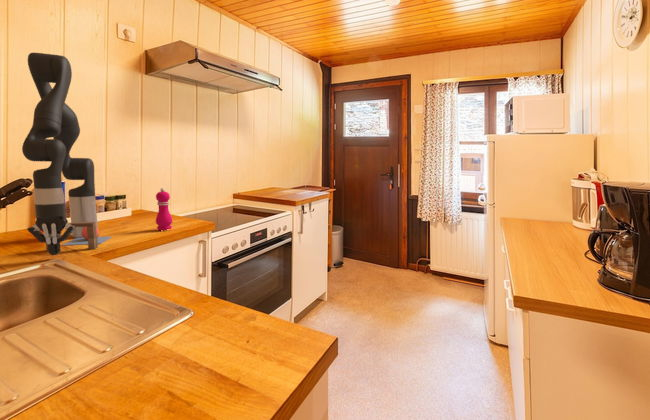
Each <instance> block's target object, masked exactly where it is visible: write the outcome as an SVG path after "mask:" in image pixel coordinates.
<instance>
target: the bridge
mask: <svg viewBox="0 0 650 420" xmlns="http://www.w3.org/2000/svg"><path fill="white" fill-rule="evenodd" d="M68 223H69V224H71V225H72V226H73V225H75V226H76V227H87V237H88V244H87V246H88V250H91V251H92V250H96V249H97V248H99V244H98V242H97V229H96V222H74V223H71V222H68ZM64 228H66V226H65V227H64ZM45 247H46V248H45V249H46V250H45V251H46V252H48V244H47V243H45Z"/></svg>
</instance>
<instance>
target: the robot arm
mask: <svg viewBox="0 0 650 420" xmlns="http://www.w3.org/2000/svg"><path fill="white" fill-rule="evenodd" d="M27 66H28V69H29V73H30V74H31V75H30V76H31V77H32V80H33V82H34V83H33V84H34V85H35V87H36V89H37V92H38V95H39V97H40V100H39V102H38V103H37V104H36V106H35V108H34V112H33V121H32V125H31V128H30V130H29V132H28V134H27V136H26V137H25V139H24V141H23V143H22V147H21V150H22V154H23V156H24V157H25V158H26V160H28V161H31V162H50V165H49V166H48V167H46V168H40V169H36V170H33V172H32V173H33V174H32V179H33V181H32V182H33V188H34V189H33V202H34V210H35V211H34V212H35V217H36V220H35V221H34V222H35V223H34V225H32V226H30V227H28V228H27V231H28V232H29V233H30V234H31V235H32V236H33V237H34V238H35V239H36V240H37V241H39V242H40V243H44V244H46V243H47V244H48V251H47V252H48V254H50V256H57V255H59V254H60V253H61V243H62V242H64V241H66V240H68V238H69V237H70V236H71V237H72V238H74V239H75V238H83V236H82V230H83V229H84V228H85V227H76V226H75V225H73V226H72V225H71V224H69V223H74V222H96V227H97V228H98V229H99V226H98V215H97V201H96V200H97V199H96V186H95V185H96V184H95V163H94V161H93V160H92V158H89V157H71V156H70V155H71V154H70V152H71V150H72V147H73V146H74V145H75V143H76V142H77V140H78V138H79V136H80V133H81V128H80V123H79V121H78V120H79V119H78V116H77V114H76V112H75V111H74V110H73V109H72V108H71V107H70V106H69V105H68V104H67V103H66V101H67V100H66V99H67V97H68V96H67V95H68V94H69V89H70V86H71V83H72V75H73V72H72V65H71V63H70V61H69V59H68V58H67V57H66V56H65V55H59V54H51V53H42V52H30V53H29V54H28V55H27ZM51 84H54V86H53V88H52V85H51ZM49 138H50V139H49ZM62 175H63V177H64V178H65V180H69V181H84V182H83V184H81V185H79V186H77V187H73V188H71V189H69V190H68V204H69V214H70V215H69V216H70V222H68V221H69V220H68V219H67V216H66V215H67V214H66V203H65V194H64V190H63V182H62V181H63V180H62ZM65 226H66V227H65ZM63 230H65V231H64V232H63V234H62V231H63Z"/></svg>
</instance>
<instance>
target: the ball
mask: <svg viewBox="0 0 650 420" xmlns="http://www.w3.org/2000/svg"><path fill="white" fill-rule="evenodd" d="M96 229H97V237H100V236H99V235H100V230H99V227H98V228H97V227H96ZM82 236H83V238H84V239H86V240H88V237H87V227H85V228H84V229H83V230H82Z"/></svg>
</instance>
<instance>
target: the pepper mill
mask: <svg viewBox="0 0 650 420" xmlns="http://www.w3.org/2000/svg"><path fill="white" fill-rule="evenodd" d="M165 190H166V189H165V188H164V187H162V188H160V191H158V192H157V193H156V195H155V199H156V200H157V205H158V212H157V214H156V218H155V223H156V225H157V227H156V229H158V230H167V229H171V228H173V227H172V225H171V224H173V216H172V215H171V213H170V210H169V205H170V202H169V200H170V199H171V195H170V193H169V192H168V191H165ZM158 230H157V231H158Z"/></svg>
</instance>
